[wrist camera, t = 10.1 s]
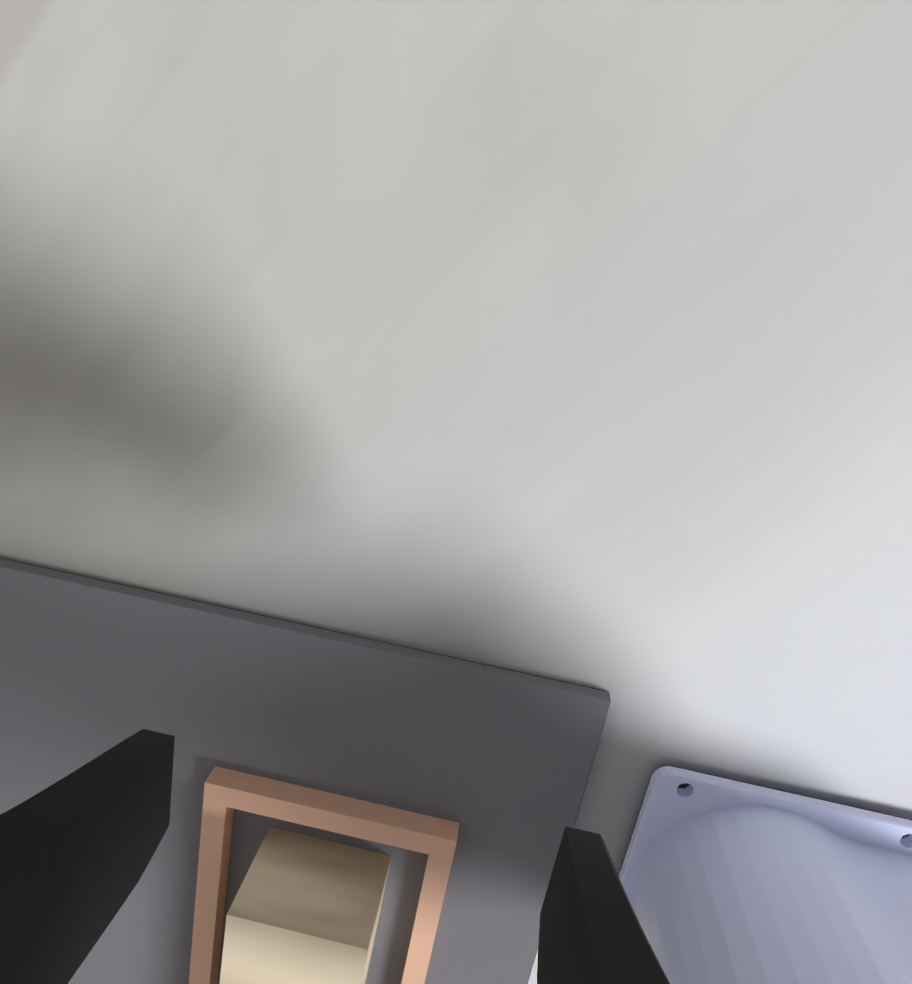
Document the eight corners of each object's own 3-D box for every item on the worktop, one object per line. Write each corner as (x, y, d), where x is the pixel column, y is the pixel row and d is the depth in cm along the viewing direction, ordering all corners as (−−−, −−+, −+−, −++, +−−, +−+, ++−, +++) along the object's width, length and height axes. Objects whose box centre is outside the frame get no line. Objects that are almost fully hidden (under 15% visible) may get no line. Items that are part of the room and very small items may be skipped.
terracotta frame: (459, 822, 23) (456, 841, 22) (396, 1098, 27) (392, 1122, 26) (215, 766, 23) (204, 782, 22) (191, 1046, 28) (182, 1068, 27)
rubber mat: (608, 692, 21) (610, 701, 21) (487, 1107, 27) (486, 1122, 27) (-102, 535, 23) (-116, 541, 22) (-67, 967, 29) (-77, 978, 28)
